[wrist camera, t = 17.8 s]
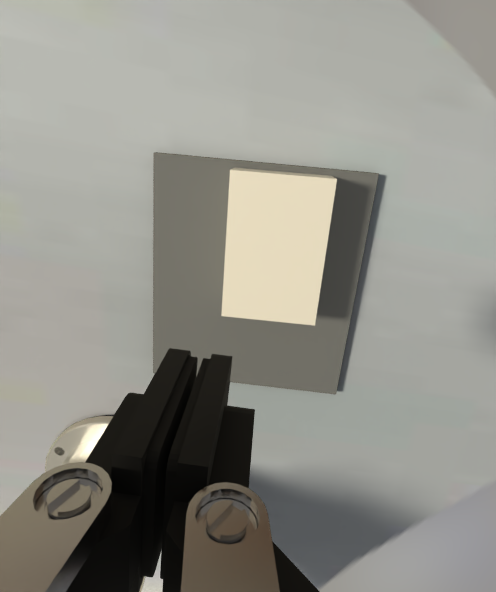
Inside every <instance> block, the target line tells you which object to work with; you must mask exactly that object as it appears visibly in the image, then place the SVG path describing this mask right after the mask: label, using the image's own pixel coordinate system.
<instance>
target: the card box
mask: <svg viewBox="0 0 496 592" xmlns="http://www.w3.org/2000/svg"><path fill="white" fill-rule="evenodd" d="M336 183H337V179H336V178H334V177H333V176H327V175H315V174H303V173H292V172H280V171H268V170H257V169H245V168H233V169H231V170H230V178H229V195H228V212H227V229H226V246H225V263H224V280H223V297H222V314H221V316H226V317H235V318H245V319H255V320H265V321H275V322H285V323H294V324H304V325H314V326H315V322H316V315H317V308H318V302H319V295H320V289H321V282H322V275H323V269H324V262H325V256H326V249H327V242H328V236H329V229H330V223H331V216H332V209H333V203H334V196H335V190H336Z"/></svg>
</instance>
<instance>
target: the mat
mask: <svg viewBox="0 0 496 592" xmlns="http://www.w3.org/2000/svg"><path fill="white" fill-rule="evenodd" d="M233 168H245V169H257V170H268V171H280V172H292V173H303V174H315V175H327V176H333V177H334V178H336V179H337V183H336V190H335V196H334V203H333V209H332V216H331V223H330V229H329V236H328V242H327V249H326V256H325V262H324V269H323V275H322V282H321V289H320V295H319V302H318V308H317V315H316V322H315V326H314V325H304V324H294V323H285V322H275V321H265V320H255V319H245V318H235V317H226V316H221V314H222V297H223V280H224V263H225V246H226V229H227V212H228V195H229V178H230V170H231V169H233ZM378 176H379V174H378V173H369V172H359V171H348V170H337V169H327V168H316V167H305V166H295V165H284V164H274V163H263V162H252V161H242V160H231V159H220V158H210V157H199V156H188V155H178V154H167V153H157V152H156V153H154V244H153V373H156V371H157V369H158V368H159V366H160V364H161V362H162V360H163V358H164V357H165V355H166V353H167V351H168V349H169V348H173V349H181V350H188V351H190V352H191V356H192V357H197V358H198V363H197V374H198V371H199V368H200V366H201V363H202V360H203V358H208V359H210V358H211V355H212V354H219V355H226V356H232V367H231V376H230V382H234V383H243V384H251V385H260V386H269V387H277V388H286V389H295V390H303V391H312V392H320V393H329V394H336V391H337V386H338V381H339V376H340V371H341V366H342V361H343V355H344V350H345V345H346V340H347V335H348V330H349V325H350V320H351V314H352V309H353V304H354V299H355V294H356V289H357V284H358V279H359V273H360V268H361V263H362V258H363V253H364V248H365V243H366V237H367V232H368V227H369V222H370V217H371V212H372V207H373V202H374V196H375V191H376V186H377V181H378ZM196 377H197V375H196Z"/></svg>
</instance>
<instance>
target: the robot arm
mask: <svg viewBox="0 0 496 592" xmlns="http://www.w3.org/2000/svg"><path fill="white" fill-rule="evenodd" d="M197 363H198V358H197V357H192V356H191V352H190V351H188V350H181V349H173V348H169V349H168V351H167V353H166V355H165V357H164V358H163V360H162V362H161V364H160V366H159V368H158V369H157V371H156V373H155V375H154V377H153V379H152V380H151V382H150V384H149V386H148V388H147V389H146V391H145V393H144V394H136V393H128V394H127V396H126V397H125V398H124V400H123V402H122V403H121V405H120V407H119V408H118V410H117V411H116V413H115V415H114V416H98V417H92V418H87V419H84V420H82V421H79V422H76V423H75V424H73V425H71V426H70V427H68V428H67V429H65V430H64V432H63V433H62V434H61V435H60V436H59V437H58V438H57V439H56V441H55V442H54V443H53V445H52V446H51V448H50V450H49V452H48V455H47V457H46V464H45V473H43V474H42V475H41V476H40V477H38V478H37V479H36V480H35V481H33V482H32V483H31V485H30V486H29V487H28V488H27V489H26V490H25V491H24V492H23V493H22V494H21V495H20V496H19V497H18V498H17V499H16V500H15V501H14V502H13V503H12V504H11V505H10V506H9V508H8V509H7V510H6V511H5V512H4V513H3V514H2V515H1V516H0V592H141V590H142V587H143V584H144V581H145V578H146V576H147V577H153V575H154V573H155V570H156V566H157V563H158V559H159V556H160V552H161V549H162V554H161V572H160V578H161V579H163V592H319V591H318V590H317V588H316V587H315V586H314V585H313V584H312V583H311V582H310V581H309V580H308V579H307V578H306V577H305V576H304V575H303V574H302V572H301V571H300V570H299V569H298V568H297V567H296V566H295V565H294V564H293V563H292V562H291V561H290V560H289V559H288V558H287V556H286V555H285V554H284V553H283V552H282V551H281V550H280V549H279V548H278V547H277V546H276V545H275V544H274V543H273V542H272V537H271V531H270V524H269V517H268V513H267V510H266V507H265V504H264V503H263V502H262V500H261V499H260V497H259V496H258V495H257V494H255V493H254V492H253V491H252V490H250V489H249V475H250V463H251V450H252V438H253V425H254V412H255V409H248V408H240V407H233V406H227V402H228V393H229V385H230V376H231V367H232V356H226V355H219V354H212V355H211V358H210V359H208V358H203V360H202V363H201V366H200V368H199V371H198V374H197ZM196 375H197V377H196Z"/></svg>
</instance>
